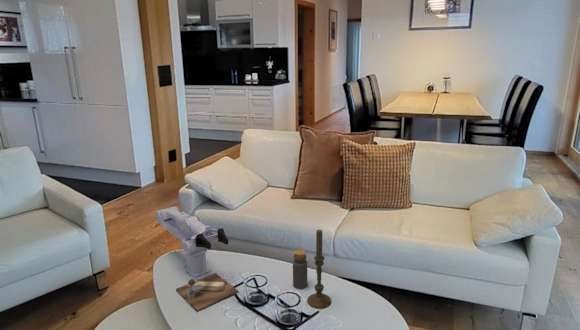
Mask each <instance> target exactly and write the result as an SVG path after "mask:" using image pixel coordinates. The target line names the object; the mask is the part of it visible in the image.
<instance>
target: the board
mask: <svg viewBox="0 0 580 330" xmlns="http://www.w3.org/2000/svg"><path fill="white" fill-rule="evenodd" d="M196 281H203V282H224V283H225V287H224V290H223V291H211V290H200V291H197V292H194V293H195V299H193V300H189V299H188V297H187V291H186V289H187V288H188V283H187V284H185V285H182V286H180V287H177V288H175V291H176V292H177V293H178V294H179V295H180V297H182V298H183V299H184V300H185V301H186V302H187V304H188V305H189V306H190V307H192V309H194V311H195V312H197V313H198V312H201V311H202V310H205V309H207V308H209V307H211V306H213V305H214V306H215V305H216V304H218V303H220V302H222V301H225V300H227V299H229V298H231V297H233V296H235V295H234V294H235V293H238V294H239V290H238V289H237V288H235V286H233V285H232V284H231V283H229V282H228V281H227V280H226V279H224V278H223V277H221V276H220V275H219V274H218V273H216V272H215V273H212V274H210V275H207V276H205V277H202V278H200V279H199V278H198V279H197V280H196Z"/></svg>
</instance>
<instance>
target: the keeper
mask: <svg viewBox="0 0 580 330" xmlns="http://www.w3.org/2000/svg"><path fill="white" fill-rule="evenodd" d="M202 289H204V287H203V286H202V285H201V284H198V285H196V286H193V287H190V288H187V289H186V291H187V297H188V299H189V300H193V299H195V293H194V292H197V291H200V290H202Z"/></svg>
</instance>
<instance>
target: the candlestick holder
mask: <svg viewBox="0 0 580 330" xmlns="http://www.w3.org/2000/svg"><path fill="white" fill-rule="evenodd" d="M315 233H316V234H315V235H316V236H315V237H316V242H315V243H316V245H315V248H316V250H315V252H316V255H315V256H314V257H313V260H314V265H315V266H316V284H315V285H314V290H315V293H312V294H310V295H308V297H307V300H306V303H307V304H308V306H310V307H312V308H313V309H319V310H320V309H326V308H329V306H330V305H331V304H332V300H331V297H330V296H329V295H327V294H326V293H323V291H324V284H322V274H323V271H322V270H323V268H322V266H324V264H325V263H324V261H325V256H324V255H323V230H322V229H317V230H316V231H315Z"/></svg>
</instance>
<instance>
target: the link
mask: <svg viewBox="0 0 580 330" xmlns="http://www.w3.org/2000/svg"><path fill="white" fill-rule="evenodd" d="M187 281H188V282H187V284H188V288H190V287H193V286H196V285H198V284H201V285H202V286H203V287H204V289H202V290H211V291H223V290H224V287H225V283H224V282H203V281H197V280H195V279H193V278H192V279H189V280H187Z"/></svg>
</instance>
